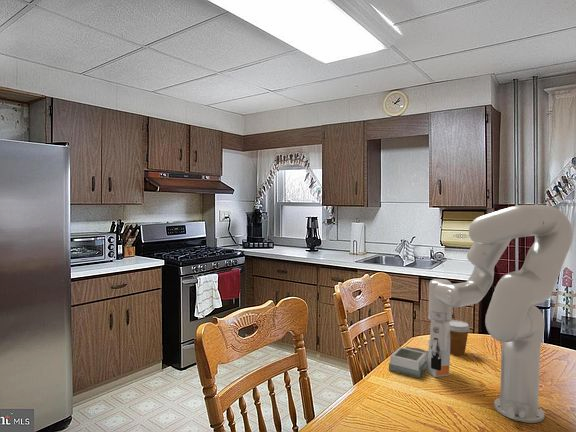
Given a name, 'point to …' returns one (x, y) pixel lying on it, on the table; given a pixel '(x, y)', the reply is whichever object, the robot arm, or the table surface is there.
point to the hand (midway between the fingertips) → (438, 365)
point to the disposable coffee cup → (458, 337)
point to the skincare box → (444, 362)
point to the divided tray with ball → (409, 361)
